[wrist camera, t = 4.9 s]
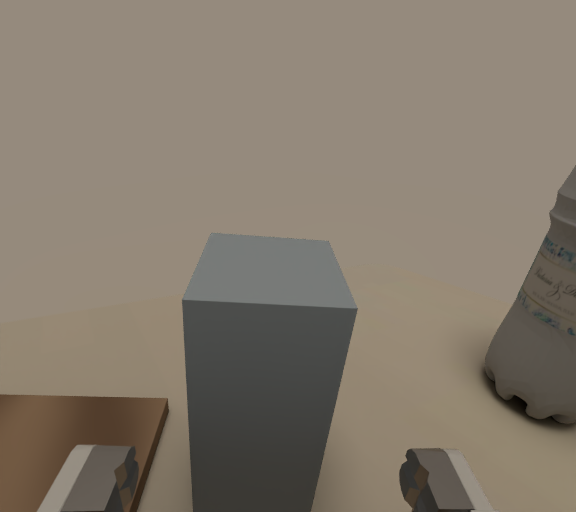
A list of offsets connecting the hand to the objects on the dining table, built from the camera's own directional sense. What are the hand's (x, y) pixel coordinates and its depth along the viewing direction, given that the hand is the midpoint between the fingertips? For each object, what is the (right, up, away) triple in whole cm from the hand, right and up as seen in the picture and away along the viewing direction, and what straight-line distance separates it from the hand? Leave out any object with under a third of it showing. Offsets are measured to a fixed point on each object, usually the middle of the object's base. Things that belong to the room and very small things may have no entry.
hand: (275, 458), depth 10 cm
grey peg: (-1, -5, +6) cm, 8 cm away
